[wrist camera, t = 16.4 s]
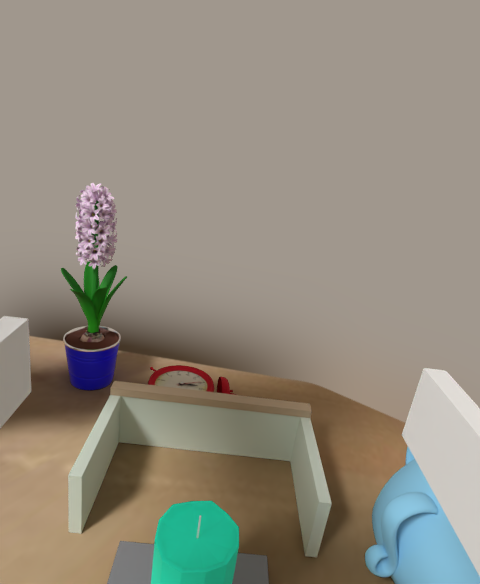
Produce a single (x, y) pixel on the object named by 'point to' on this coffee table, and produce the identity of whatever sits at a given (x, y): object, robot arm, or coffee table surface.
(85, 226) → the hyacinth
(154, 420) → the white u-shaped frame
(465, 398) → the robot arm
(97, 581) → the coffee table surface
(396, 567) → the decorative pot
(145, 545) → the slate tile
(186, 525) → the candle
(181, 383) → the alarm clock
